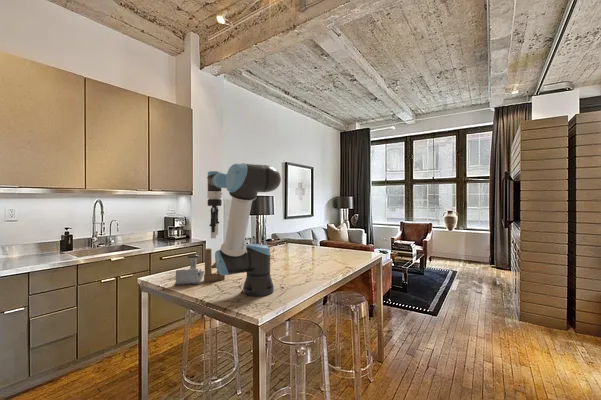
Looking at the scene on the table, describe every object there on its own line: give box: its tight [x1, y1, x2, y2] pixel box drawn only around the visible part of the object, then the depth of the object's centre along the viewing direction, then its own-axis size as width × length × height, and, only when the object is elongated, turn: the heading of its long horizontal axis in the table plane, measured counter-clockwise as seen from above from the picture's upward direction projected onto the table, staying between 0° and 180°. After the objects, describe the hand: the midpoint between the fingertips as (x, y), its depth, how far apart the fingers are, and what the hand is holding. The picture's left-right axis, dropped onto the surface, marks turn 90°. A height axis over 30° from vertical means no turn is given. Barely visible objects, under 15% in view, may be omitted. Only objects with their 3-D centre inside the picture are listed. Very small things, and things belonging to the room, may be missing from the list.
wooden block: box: [203, 248, 226, 283], centre depth 158 cm, size 4×11×18 cm, turn 119°
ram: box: [187, 254, 200, 269], centre depth 168 cm, size 5×6×10 cm
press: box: [174, 268, 205, 287], centre depth 160 cm, size 24×12×8 cm, turn 12°
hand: (214, 236), depth 158 cm, fingers open, 13 cm apart
